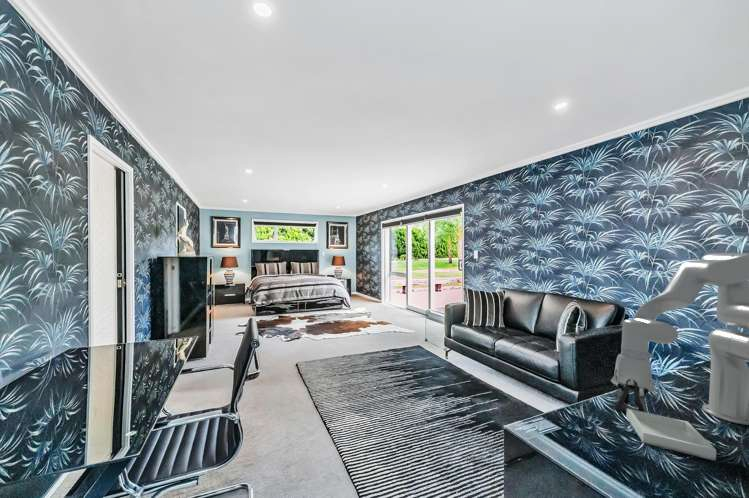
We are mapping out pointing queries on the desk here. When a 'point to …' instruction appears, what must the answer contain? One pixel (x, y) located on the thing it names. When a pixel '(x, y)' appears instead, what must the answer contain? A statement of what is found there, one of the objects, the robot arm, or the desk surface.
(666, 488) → the desk surface
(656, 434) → the tray
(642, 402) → the phone stand
